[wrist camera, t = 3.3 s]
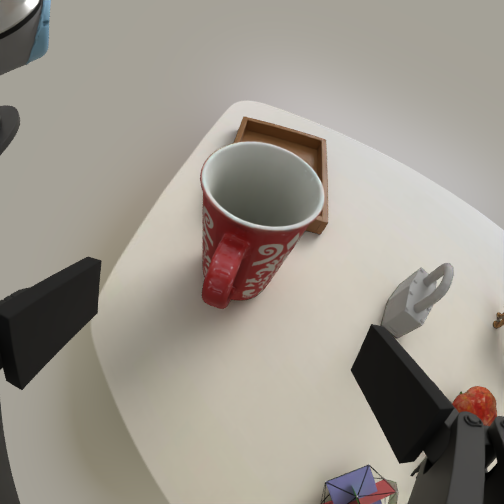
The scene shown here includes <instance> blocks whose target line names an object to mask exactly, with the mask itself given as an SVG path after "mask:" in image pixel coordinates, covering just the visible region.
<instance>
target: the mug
mask: <svg viewBox="0 0 504 504" xmlns="http://www.w3.org/2000/svg"><path fill="white" fill-rule="evenodd" d="M200 181H201V187H202V190H203V274H204V277H205V279H204V283H203V288H202V299H203V301H204V302H205V303H207V304H209V305H211V306H213V307H216V308H220V309H224V308H226V307H227V306H228V304H229V302H230V300H247V299H250V298H253V297H255V296H257V295H258V294H259V293H261V292H262V291H263V290H264V289H265V287H266V286H267V285H268V283H269V282H270V281H271V279H272V277H273V276H274V275H275V273H276V272H277V270H278V269H279V268H280V266H281V265H282V263H283V262H284V260H285V259H286V258H287V256H288V255H289V253H290V252H291V250H292V249H293V248H294V246H295V245H296V243H297V242H298V240H299V239H300V238H301V236H302V235H303V233H304V232H305V230H306V229H307V227H308V226H309V225H310V224H311V223H312V222H313V221H314V220H315V219H316V218H317V217H318V216H319V215H320V213H321V211H322V209H323V206H324V201H325V195H324V189H323V185H322V183H321V181H320V179H319V177H318V175H317V174H316V173H315V171H314V170H313V169H312V168H311V167H310V166H309V165H308V164H307V163H306V162H305V161H304V160H302V159H301V158H300V157H298V156H297V155H295V154H294V153H292V152H290V151H288V150H286V149H283V148H281V147H278V146H275V145H272V144H267V143H262V142H238V143H233V144H229V145H226V146H224V147H222V148H220V149H218V150H216V151H215V152H214V153H212V154H211V155H210V156H209V157H208V158H207V160H206V161H205V163H204V165H203V167H202V170H201V174H200Z"/></svg>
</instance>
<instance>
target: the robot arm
mask: <svg viewBox="0 0 504 504" xmlns="http://www.w3.org/2000/svg"><path fill="white" fill-rule="evenodd" d="M50 3H51V0H0V75H2V74H4V73H7V72H9V71H11V70H14V69H16V68H18V67H21V66H23V65H27V64H28V63H29V62H31V61H33V60H36V59H38V58H40V57H42V56H43V55H44V54H45V53H46V52H47V50H48V41H49V17H50ZM1 123H2V122H1V118H0V127H1ZM100 270H101V260H97V259H94V258H91V257H86V258H84V259H82V260H80V261H79V262H76V263H75V264H73V265H71V266H69V267H67V268H65V269H63V270H61V271H60V272H58V273H56V274H54V275H52V276H50V277H48V278H47V279H45V280H43V281H41V282H39V283H38V284H36V285H34V286H32V287H31V288H25V289H22V290H18V291H16V292H14V293H13V294H11V295H10V296H7V297H6V298H4V300H1V301H0V369H2V368H3V370H4V374H5V378H6V381H8V382H9V383H11V384H12V385H14V386H16V387H18V388H19V389H21V390H23V389H24V387H25V386H26V385H27V384H28V383H29V382H30V381H31V380H32V379H33V378H34V377H35V375H36V374H37V373H38V372H39V371H40V370H41V369H42V368H43V367H44V366H45V365H46V364H47V363H48V362H49V361H50V360H51V359H52V358H53V357H54V356H55V355H56V354H57V353H58V352H59V350H61V349H62V348H63V347H64V346H65V345H66V343H68V341H69V340H71V338H73V337H74V336H75V334H77V333H78V332H79V331H80V330H81V329H82V328H83V327H84V326H85V325H86V324H87V323H88V322H89V321H90V320H91V319H92V318H93V317H94V316H95V315H96V314H97V313H98V296H99V282H100ZM351 372H352V373H353V375H354V377H355V379H356V381H357V383H358V385H359V387H360V388H361V390H362V392H363V394H364V396H365V398H366V400H367V402H368V404H369V405H370V407H371V409H372V411H373V413H374V415H375V417H376V419H377V421H378V423H379V425H380V427H381V428H382V430H383V432H384V434H385V436H386V438H387V440H388V442H389V444H390V446H391V448H392V450H393V452H394V454H395V456H396V458H397V460H398V462H399V464H400V463H407V462H413V461H415V460H416V459H417V457H418V456H419V455H420V454H421V453H422V451H424V452H425V454H426V457H425V459H424V460H423V461H422V462H421V463H420V464H419V465H418V467H417V468H416V469H415V470H414V471H413V472H412V474H411V476H413V475H414V474H415V473H417V472H418V475H417V476H416V481H415V484H414V487H413V490H412V493H411V496H410V498H409V501H408V504H504V417H502V416H498V417H496V418H495V419H494V421H493V422H492V423H491V425H490V426H485V425H483V422H482V420H481V419H480V418H479V417H477V416H476V415H475V414H473V413H470V412H467V411H462V412H460V413H459V412H458V411H457V409H456V408H455V407H454V406H453V405H452V403H451V402H450V401H449V400H448V399H447V397H446V396H444V394H443V393H442V391H441V390H439V388H438V387H437V386H436V384H435V383H434V382H433V381H432V380H431V379H430V378H429V377H428V376H427V375H426V373H425V372H424V371H423V370H422V369H421V368H420V367H419V365H418V364H417V363H416V362H415V361H414V360H413V359H412V357H411V356H410V355H409V354H408V353H407V352H406V351H405V350H404V348H403V347H402V346H401V345H400V344H399V343H398V342H397V341H396V340H395V338H394V337H393V336H392V335H391V334H390V333H389V332H388V331H387V330H386V329H385V327H384V326H378V325H373V324H371V326H370V328H369V331H368V333H367V335H366V338H365V340H364V342H363V344H362V347H361V349H360V351H359V353H358V356H357V358H356V360H355V362H354V364H353V366H352V368H351ZM495 458H497V464H496V465H495V466H494V467H493V468H492V469H491V470H490V471H489V472H488V471H487V467H488V466H489V465H490V464H491V463H492V462H493V461H494V459H495ZM0 504H20V501H19V498H18V495H17V491H16V488H15V484H14V481H13V477H12V473H11V469H10V464H9V460H8V454H7V449H6V443H5V437H4V431H3V423H2V415H1V404H0Z"/></svg>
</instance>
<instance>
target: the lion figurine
mask: <svg viewBox="0 0 504 504" xmlns="http://www.w3.org/2000/svg"><path fill="white" fill-rule="evenodd" d="M497 317H498V319H502V320H501V321H499V322H497V321H494V322H493V325H494V327H495V328H499V327H501V326H502V325H504V313H503V314H501V313H499V312H498V313H497Z"/></svg>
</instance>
